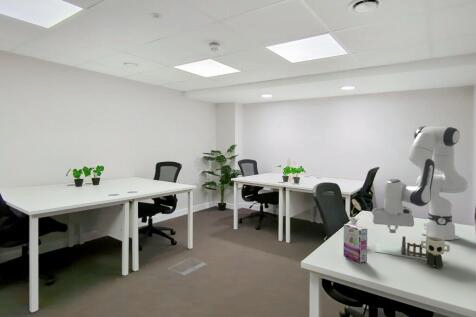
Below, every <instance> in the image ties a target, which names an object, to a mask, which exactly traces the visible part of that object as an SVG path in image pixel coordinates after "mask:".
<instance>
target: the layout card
mask: <svg viewBox="0 0 476 317" xmlns="http://www.w3.org/2000/svg"><path fill="white" fill-rule="evenodd" d="M410 251H411V252H413V247H410ZM416 252H418V253H419V248H416ZM375 253H380V254H386V255H391V256H392V255H393V256H398V257H405V258H410V259H417V260H424V261H427V258H426V256H422V257H419V255H416V256H413V254H409V255H407V246H406V253H405V255H403V254H402V245H401V246H399V245H393V244H385V243H379V242H376V243H375ZM422 253H424V254H426V249H422Z"/></svg>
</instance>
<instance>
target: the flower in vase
mask: <svg viewBox="0 0 476 317" xmlns="http://www.w3.org/2000/svg"><path fill="white" fill-rule="evenodd" d="M351 202H352V205H353V207H352V210H351V212H350V213H351V215H352V217H349V219H350V222H351V223H350V224H354V225H357V222H358V221H359V218H358V217H354V216H356V215H357V213H355V214H354V209H355V208H356V209H357V210H358V211H362V207H361V205H360V203H359V202H358V201H357V200H356V199H354V198H353V199H352V200H351ZM342 237H343V239H344V236H342Z"/></svg>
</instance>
